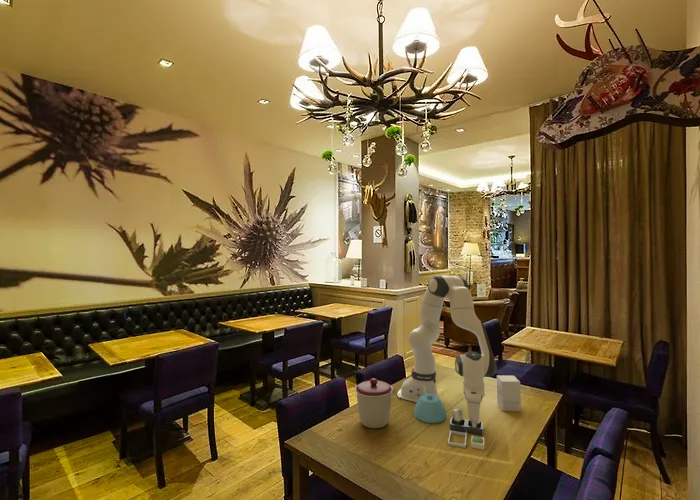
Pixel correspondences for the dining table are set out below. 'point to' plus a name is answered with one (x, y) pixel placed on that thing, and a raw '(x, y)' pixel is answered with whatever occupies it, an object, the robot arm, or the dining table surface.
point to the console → (477, 444)
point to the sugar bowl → (430, 409)
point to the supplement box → (508, 393)
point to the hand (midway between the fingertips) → (474, 421)
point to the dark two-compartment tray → (466, 427)
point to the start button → (477, 439)
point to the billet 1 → (458, 416)
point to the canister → (374, 402)
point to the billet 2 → (476, 423)
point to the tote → (457, 443)
